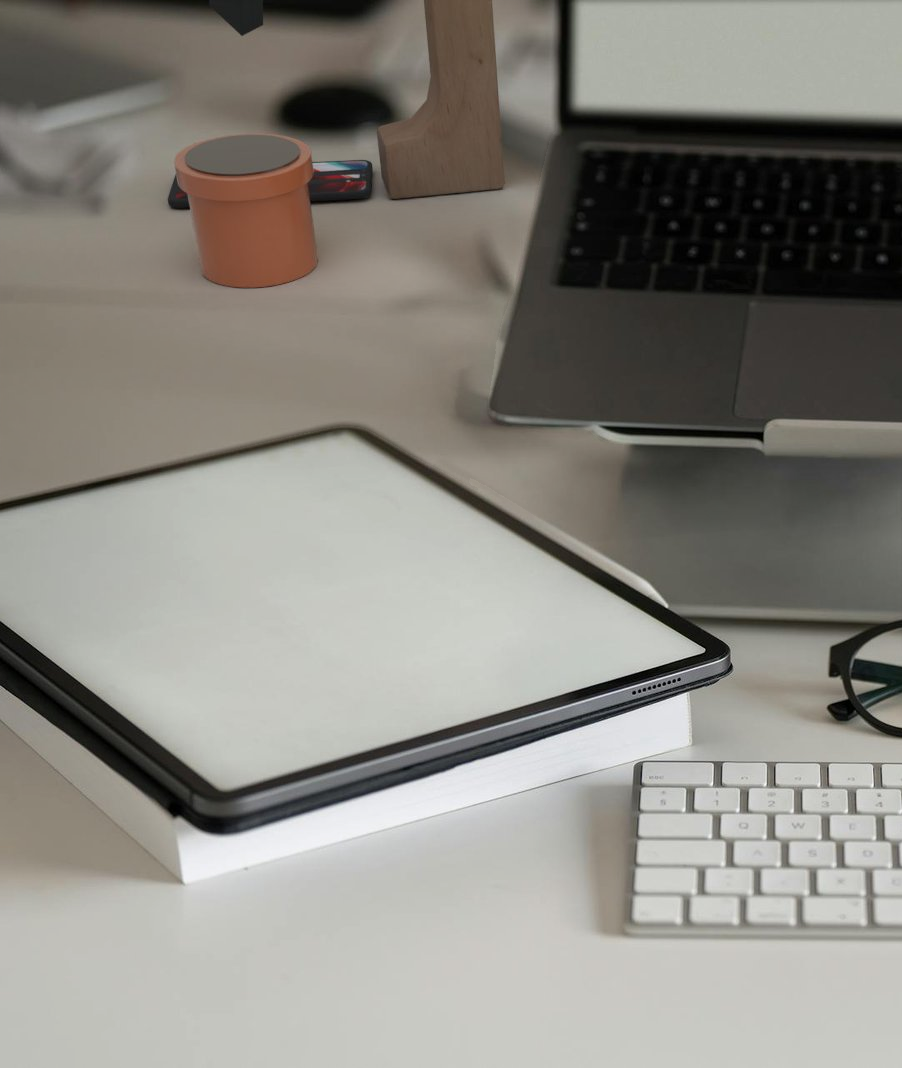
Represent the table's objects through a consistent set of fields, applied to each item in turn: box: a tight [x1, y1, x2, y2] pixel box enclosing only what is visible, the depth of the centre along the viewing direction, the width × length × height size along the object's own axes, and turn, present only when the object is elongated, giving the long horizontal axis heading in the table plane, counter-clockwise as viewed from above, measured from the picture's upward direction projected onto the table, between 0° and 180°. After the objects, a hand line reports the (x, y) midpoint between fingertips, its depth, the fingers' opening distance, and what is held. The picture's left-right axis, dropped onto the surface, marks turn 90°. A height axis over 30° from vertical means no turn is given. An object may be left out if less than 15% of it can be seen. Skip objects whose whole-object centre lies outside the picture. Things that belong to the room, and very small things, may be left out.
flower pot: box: [173, 133, 319, 289], centre depth 118 cm, size 9×9×8 cm
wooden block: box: [376, 0, 506, 200], centre depth 129 cm, size 9×4×18 cm, turn 109°
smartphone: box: [167, 159, 374, 209], centre depth 132 cm, size 7×1×15 cm
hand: (236, 15), depth 95 cm, fingers closed
